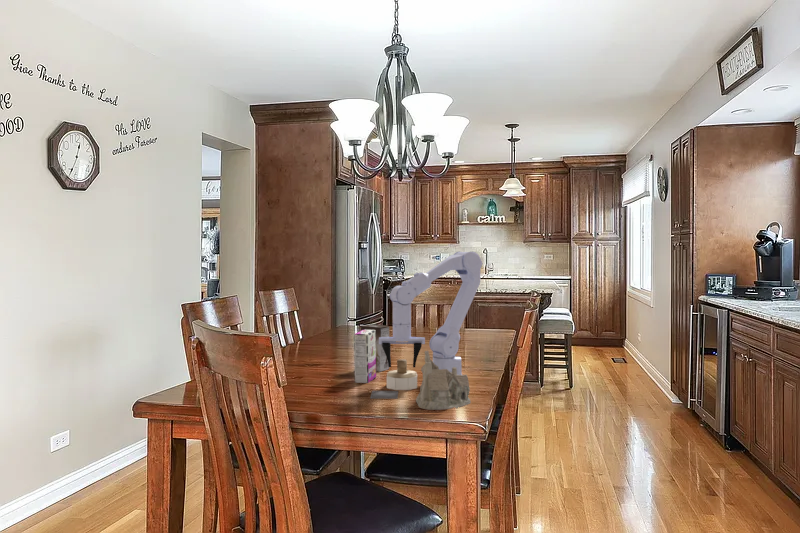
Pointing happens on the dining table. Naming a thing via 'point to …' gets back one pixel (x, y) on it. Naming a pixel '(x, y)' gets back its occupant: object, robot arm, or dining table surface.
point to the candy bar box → (365, 356)
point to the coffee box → (379, 345)
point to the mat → (384, 395)
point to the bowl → (401, 383)
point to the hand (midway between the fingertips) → (402, 366)
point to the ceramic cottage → (442, 387)
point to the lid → (402, 370)
